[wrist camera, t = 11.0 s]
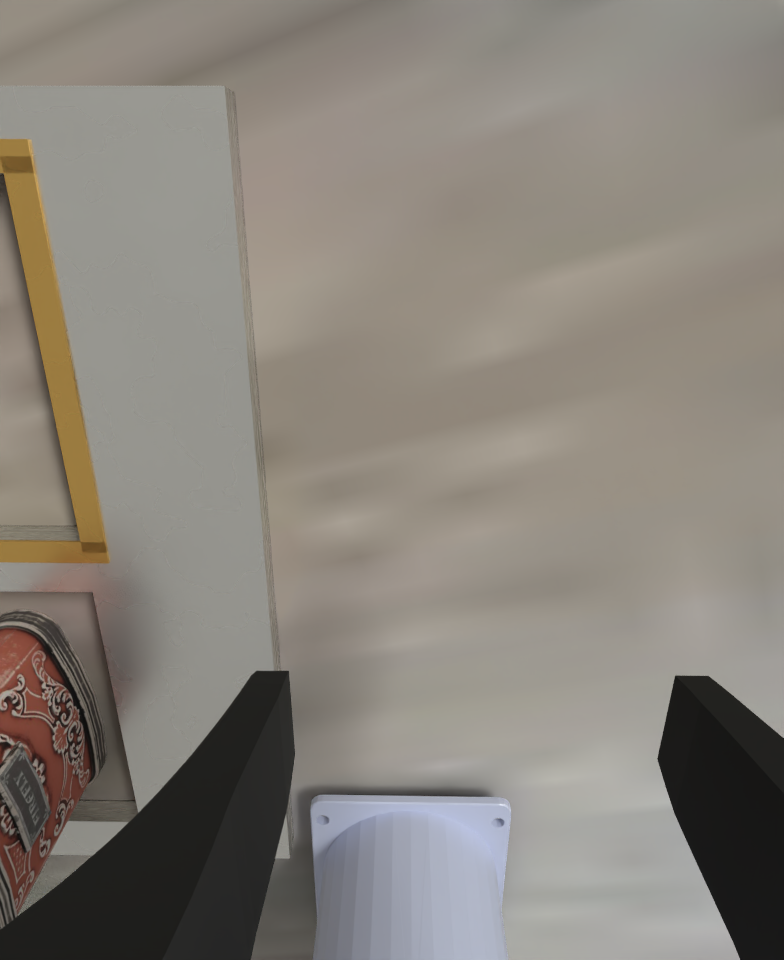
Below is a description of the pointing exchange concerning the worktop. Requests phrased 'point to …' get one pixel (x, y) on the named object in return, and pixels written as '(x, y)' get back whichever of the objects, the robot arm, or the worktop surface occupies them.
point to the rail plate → (146, 408)
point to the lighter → (40, 747)
